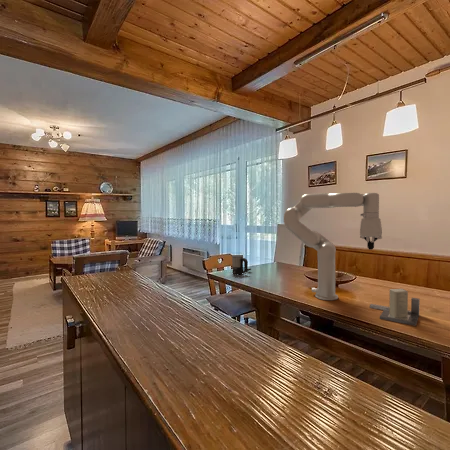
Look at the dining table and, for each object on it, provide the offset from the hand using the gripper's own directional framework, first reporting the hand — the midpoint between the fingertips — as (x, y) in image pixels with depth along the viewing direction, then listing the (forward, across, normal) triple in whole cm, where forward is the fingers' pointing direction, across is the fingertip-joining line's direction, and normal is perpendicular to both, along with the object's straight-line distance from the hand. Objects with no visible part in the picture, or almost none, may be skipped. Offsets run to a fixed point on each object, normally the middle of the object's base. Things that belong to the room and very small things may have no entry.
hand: (370, 249), depth 154 cm
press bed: (+29, +16, -19) cm, 38 cm away
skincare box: (+28, +16, -19) cm, 37 cm away
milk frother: (+29, -100, +18) cm, 105 cm away
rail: (+29, +12, -10) cm, 33 cm away
